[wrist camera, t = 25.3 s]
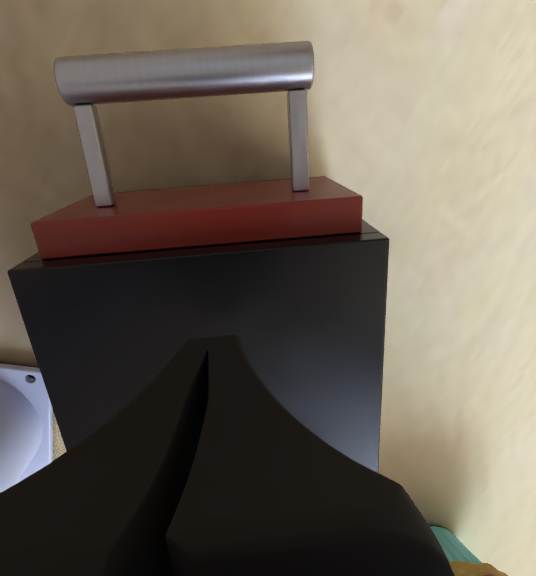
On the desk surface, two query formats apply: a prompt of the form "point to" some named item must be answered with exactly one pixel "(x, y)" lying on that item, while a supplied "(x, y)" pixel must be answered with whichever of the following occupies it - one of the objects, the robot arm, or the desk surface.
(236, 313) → the black rectangular box
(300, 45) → the drawer
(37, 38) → the desk surface
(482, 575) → the cupcake
